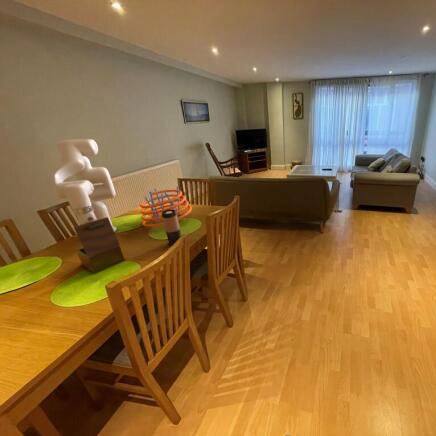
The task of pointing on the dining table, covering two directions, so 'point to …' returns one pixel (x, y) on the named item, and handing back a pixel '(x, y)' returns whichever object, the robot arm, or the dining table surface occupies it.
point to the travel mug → (171, 225)
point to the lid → (97, 236)
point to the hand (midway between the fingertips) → (95, 243)
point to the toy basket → (161, 203)
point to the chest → (101, 259)
